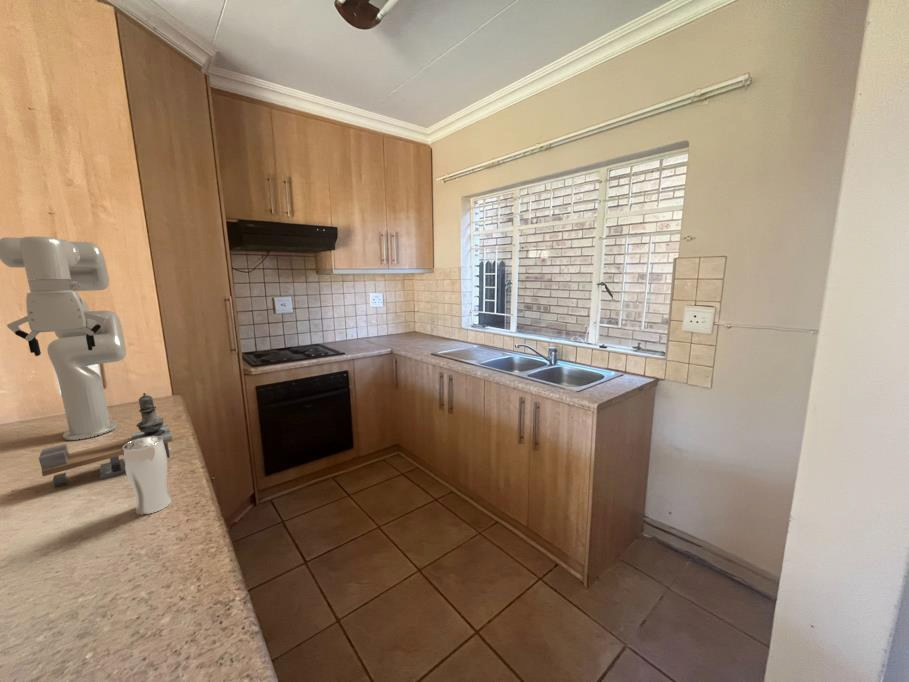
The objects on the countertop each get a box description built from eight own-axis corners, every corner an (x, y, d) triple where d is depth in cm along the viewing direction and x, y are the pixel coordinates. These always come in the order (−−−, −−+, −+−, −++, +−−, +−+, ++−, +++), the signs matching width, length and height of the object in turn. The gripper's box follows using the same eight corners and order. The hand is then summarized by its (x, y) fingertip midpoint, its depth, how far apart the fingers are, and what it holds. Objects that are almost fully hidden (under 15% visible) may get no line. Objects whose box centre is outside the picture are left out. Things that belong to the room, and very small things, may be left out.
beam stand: (57, 479, 91) (53, 462, 91) (167, 450, 106) (165, 435, 105) (53, 493, 86) (49, 474, 85) (170, 460, 100) (168, 444, 99)
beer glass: (128, 520, 76) (115, 453, 73) (138, 502, 82) (126, 439, 79) (170, 510, 79) (159, 445, 76) (176, 493, 85) (166, 432, 82)
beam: (47, 462, 91) (43, 446, 90) (168, 431, 106) (166, 417, 106) (42, 478, 83) (37, 461, 83) (172, 442, 99) (170, 427, 98)
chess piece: (151, 439, 97) (142, 396, 94) (133, 438, 98) (123, 396, 95) (172, 430, 102) (163, 389, 100) (154, 429, 103) (145, 388, 101)
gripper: (98, 285, 102) (109, 345, 105) (2, 287, 90) (17, 355, 94) (97, 286, 96) (109, 349, 100) (-6, 288, 85) (11, 360, 88)
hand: (65, 352), depth 97 cm, fingers open, 9 cm apart
